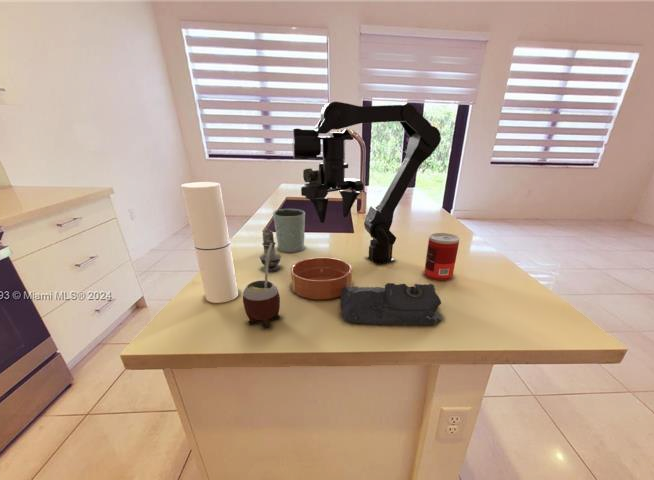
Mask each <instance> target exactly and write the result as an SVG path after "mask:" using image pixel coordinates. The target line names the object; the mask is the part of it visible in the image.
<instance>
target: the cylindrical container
mask: <svg viewBox="0 0 654 480" xmlns="http://www.w3.org/2000/svg"><path fill="white" fill-rule="evenodd" d="M180 187H181V192H182V196H183V201H184V205H185V209H186V210H185V211H186V215H187V219H188V224H189V227H190V228H189V229H190V232H191V236H192V241H193V245H194V251H195V254H196V259H197V263H198V269H199V272H200V277H201V282H202V286H203V292H204V296H205V299H206V301H207V302H210V303H212V304H213V303H214V304H221V303H226V302H227V303H228V302H230V301H232V300H234V299H237V297H238V296H239V290H238V289H239V288H238V283H237V278H236V277H237V276H236V270H235V265H234V260H233V253H232V247H231V242H230V241H231V240H230V236H229V229H228V223H227V217H226V211H225V205H224V198H223V192H222V187H221V183H220V182H213V181H197V182H187V183H182V184H181V185H180Z"/></svg>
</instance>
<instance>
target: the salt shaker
mask: <svg viewBox="0 0 654 480" xmlns="http://www.w3.org/2000/svg"><path fill="white" fill-rule="evenodd" d="M270 243H273V245H272V248H271V251H270V255H269V263H268V273H276V272H279V271H280V270H281V269H282V267H281V266H280V265H278V264H279V263H280V262H281V258H282V255H281V254H280V253H277V252H276V244H277V243H276V242H275V238H274V231H272V230H270V228H269V227H268V226H266V227H265V230H263V231H262V243H261V245H262V246H263V254H261V255H260V256H259V260H260V262H261V264H262V265H263V266H262V268H261V270H262V272H264V273H265V267H266V262H265V260H266V259H265V258H266V255H267V251H268V249H269V246H270Z"/></svg>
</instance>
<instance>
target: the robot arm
mask: <svg viewBox="0 0 654 480" xmlns="http://www.w3.org/2000/svg"><path fill="white" fill-rule="evenodd" d="M394 122H396V123H397V122H399V123H400V125H401V127H402V128H403V130H404V132H405V133H406V135H407V136H408V137H409V140H408V143H407V145H406V153H405V156H404V159H403V161H402V163H401V165H400V166H399V168H398V169H397V172H396V173H395V175H394V177H393V180H392V181H391V182H390V184H389V186H388V188H387V190H386V192H385V193H384V196H383V197H382V199H381V201H380V202H379V204H378V205H377V206H376V207H374V206H373V205H370V207H369V208H368V212H367V214H366V215H364V217H363V218H364V223H363V226H364V229H365V231H366V232H367V233H368V234H369V236H370V237H371V238H372V239H371V240H370V241H369V243H370V244H369V246H368V255H367V256H366V259H368V260H369V261H371V262H372V263H374V264H376V265H383V264H387V263H388V264H389V263H393V262H395V261H396V259H395V258H393V248H394V245H395V242H396V240H397V236H395V234H394V233H393V232H392V231H391V227H392V224H393V219H394V214H395V211H396V209H397V207H398V205H399V204H400V202H401V200H402V198H403V196H404V195H405V194H406V191H407V189H408V187H409V186H410V184H411V183H412V180H413V179H414V177H415V175H416V173H417V172H418V170H419V168H420V166H421V165H422V164H423V163H424V162H425V161H427V159H428V158H430V157H431V156H432V154H434V152H435V150H436V149H437V148H438V147H439V146H440V143H441V140H442V137H441V132H440V130H439V128H437V127H436V126H434V125H432V124H431V122H429V121H428V120H427V119H426V118H425V117H424V116H423V115H422V114H421V113H420V112H419V111H418V110H417V108H415V106H414V105H413V104H412V103H403V104H392V105H391V104H389V105H363V106H362V105H356V104H352V103H347V102H341V101H331V102H329V103H326V104H325V105H324V107H322V109H321V111H320V119H319V121H318V122H317V124H316V125H314V128H313V129H301V128H293V129H292V143H291V144H292V155H293V159H294V160H317V157H318V156H320V155H321V154H322V162H319V164H318V169H317V170H313V168H305V169H303V172H302V173H303V174H302V175H303V176H302V178H303V181H304V183H303V184H302V185H301V189H300V194H301V195H300V196H302V197H305V199H307V200H309V201H310V202H311V203H312V204H313V206H314V209H315V211H316V214H317V216H318V219H319V222H320V223H321V224H324V223H325V222H326V216H327V211H328V204H329V197H327V195H328V194H329V193H333V192H338V193H339V194H340V196H341V201H342V206H341V207H342V216H343V218H347V217H348V216H349V213H350V212H351V210H352V207H353V205H354V203H355V202H356V201H357V199H358V196H359V195H361V192H362V191H364V182H363V181H362V179H357V178H346V169H349V163H346V141H353V140H354V136H353V135H352V134H351V133H350V132H349V130H348V129H347V128H349V127H352V126H356V125H359V124H373V123H394ZM341 129H343V131H342V132H340V131H338V132H337V131H332V130H341ZM329 132H330V135H329V136H319V135H320V134H321V135H322V134H323V135H325V134H328V133H329Z"/></svg>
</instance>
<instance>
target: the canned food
mask: <svg viewBox="0 0 654 480" xmlns="http://www.w3.org/2000/svg"><path fill="white" fill-rule="evenodd" d="M459 245H460V237H459V236H458V235H455V234H452V233H447V232H436V233H431V234H429V237H428V242H427V249H426V256H425V265H424V275H425V276H426V278H428V279H430V280H435V281H448V280H450V279H452V277H453V276H454V272H455V266H456V261H457V255H458V250H459Z"/></svg>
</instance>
